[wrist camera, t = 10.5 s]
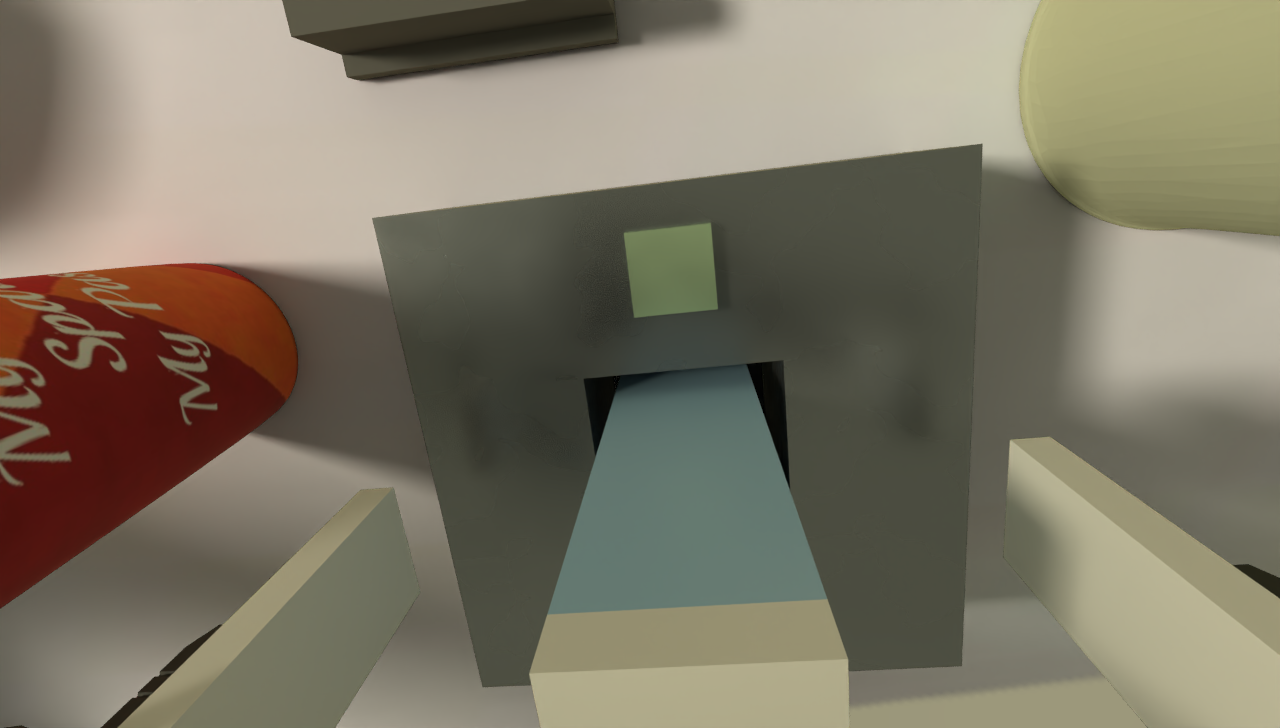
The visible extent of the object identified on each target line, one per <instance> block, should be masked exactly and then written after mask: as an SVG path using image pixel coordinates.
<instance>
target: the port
mask: <svg viewBox="0 0 1280 728" xmlns="http://www.w3.org/2000/svg"><path fill="white" fill-rule="evenodd" d="M981 169H982V144H977V145H968V146H959V147H949V148H940V149H931V150H922V151H913V152H904V153H896V154H887V155H879V156H871V157H863V158H854V159H846V160H838V161H830V162H822V163H813V164H805V165H797V166H789V167H781V168H772V169H764V170H756V171H748V172H740V173H731V174H723V175H715V176H707V177H699V178H690V179H682V180H674V181H666V182H657V183H649V184H641V185H633V186H625V187H616V188H608V189H600V190H592V191H584V192H575V193H567V194H559V195H551V196H543V197H534V198H526V199H518V200H510V201H502V202H493V203H485V204H477V205H469V206H460V207H452V208H444V209H437V210H429V211H422V212H414V213H407V214H399V215H392V216H385V217H377V218H372V220H373V224H374V228H375V232H376V237H377V241H378V245H379V249H380V254H381V258H382V262H383V266H384V270H385V275H386V279H387V283H388V287H389V292H390V296H391V300H392V304H393V309H394V313H395V317H396V321H397V326H398V330H399V334H400V338H401V343H402V347H403V351H404V355H405V360H406V364H407V368H408V372H409V377H410V381H411V385H412V389H413V394H414V398H415V402H416V406H417V410H418V415H419V419H420V423H421V427H422V432H423V436H424V440H425V444H426V449H427V453H428V457H429V461H430V466H431V470H432V474H433V478H434V483H435V487H436V491H437V495H438V500H439V504H440V508H441V512H442V517H443V521H444V525H445V529H446V534H447V538H448V542H449V546H450V551H451V555H452V559H453V563H454V567H455V572H456V576H457V580H458V584H459V589H460V593H461V597H462V601H463V606H464V610H465V614H466V618H467V623H468V627H469V631H470V635H471V640H472V644H473V648H474V652H475V657H476V661H477V665H478V669H479V674H480V678H481V682H482V686H483V687H497V686H519V685H531V680H530V675H529V673H530V669H531V666H532V663H533V659H534V656H535V653H536V650H537V646H538V643H539V640H540V637H541V633H542V630H543V627H544V624H545V620H546V617H547V614H548V611H549V607H550V604H551V601H552V598H553V594H554V591H555V588H556V585H557V581H558V578H559V575H560V572H561V568H562V565H563V562H564V559H565V555H566V552H567V549H568V546H569V542H570V539H571V536H572V533H573V529H574V526H575V523H576V520H577V516H578V513H579V510H580V506H581V503H582V500H583V497H584V493H585V490H586V487H587V484H588V480H589V477H590V474H591V471H592V467H593V464H594V461H595V458H596V454H597V451H598V448H599V445H600V441H601V438H602V435H603V432H604V428H605V425H606V422H607V419H608V415H609V412H610V409H611V406H612V402H613V399H614V396H615V390H614V383H613V376H618V375H629V374H640V373H651V372H661V371H672V370H683V369H694V368H705V367H716V366H727V365H737V364H748V363H759V362H762V374H763V390H764V406H765V420H766V423H767V426H768V428H769V431H770V434H771V437H772V440H773V443H774V446H775V449H776V452H777V455H778V457H779V460H780V463H781V466H782V469H783V472H784V475H785V478H786V481H787V484H788V486H789V489H790V492H791V495H792V498H793V501H794V504H795V507H796V510H797V512H798V515H799V518H800V521H801V524H802V527H803V530H804V533H805V536H806V539H807V541H808V544H809V547H810V550H811V553H812V556H813V559H814V562H815V565H816V568H817V570H818V573H819V576H820V579H821V582H822V585H823V588H824V591H825V594H826V597H827V599H828V602H829V605H830V608H831V611H832V614H833V617H834V620H835V623H836V626H837V628H838V631H839V634H840V637H841V640H842V643H843V646H844V649H845V652H846V654H847V657H848V671H861V670H884V669H907V668H930V667H952V666H962V646H963V620H964V595H965V570H966V545H967V520H968V495H969V470H970V445H971V420H972V395H973V370H974V345H975V320H976V294H977V269H978V244H979V219H980V194H981Z"/></svg>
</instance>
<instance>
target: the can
mask: <svg viewBox="0 0 1280 728" xmlns="http://www.w3.org/2000/svg"><path fill="white" fill-rule="evenodd" d="M1019 99H1020V112H1021V119H1022V124H1023V128H1024V133H1025V137H1026V140H1027V143H1028V145H1029V148H1030V150H1031V153H1032V155H1033V157H1034V159H1035V161H1036V163H1037V165H1038V166H1039V168H1040V169H1041V171H1042V173H1043V174H1044V176H1045V177H1046V178H1047V180H1048V181H1049V182H1050V183H1051V184H1052V186H1053V187H1054V188H1055V189H1056V190H1057V191H1058V192H1059V193H1060V194H1061V195H1062V196H1064V197H1065V198H1066V199H1067V200H1068V201H1069V202H1071V203H1072V204H1073V205H1075V206H1076V207H1078V208H1079V209H1081V210H1083V211H1084V212H1086V213H1088V214H1090V215H1092V216H1094V217H1096V218H1099V219H1101V220H1103V221H1106V222H1110V223H1113V224H1116V225H1119V226H1124V227H1130V228H1136V229H1147V230H1172V229H1181V228H1194V229H1209V230H1220V231H1232V232H1243V233H1254V234H1264V235H1274V236H1280V0H1041V2H1040V4H1039V6H1038V9H1037V11H1036V14H1035V16H1034V19H1033V21H1032V24H1031V27H1030V30H1029V33H1028V36H1027V40H1026V43H1025V47H1024V52H1023V57H1022V63H1021V69H1020V83H1019Z"/></svg>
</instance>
